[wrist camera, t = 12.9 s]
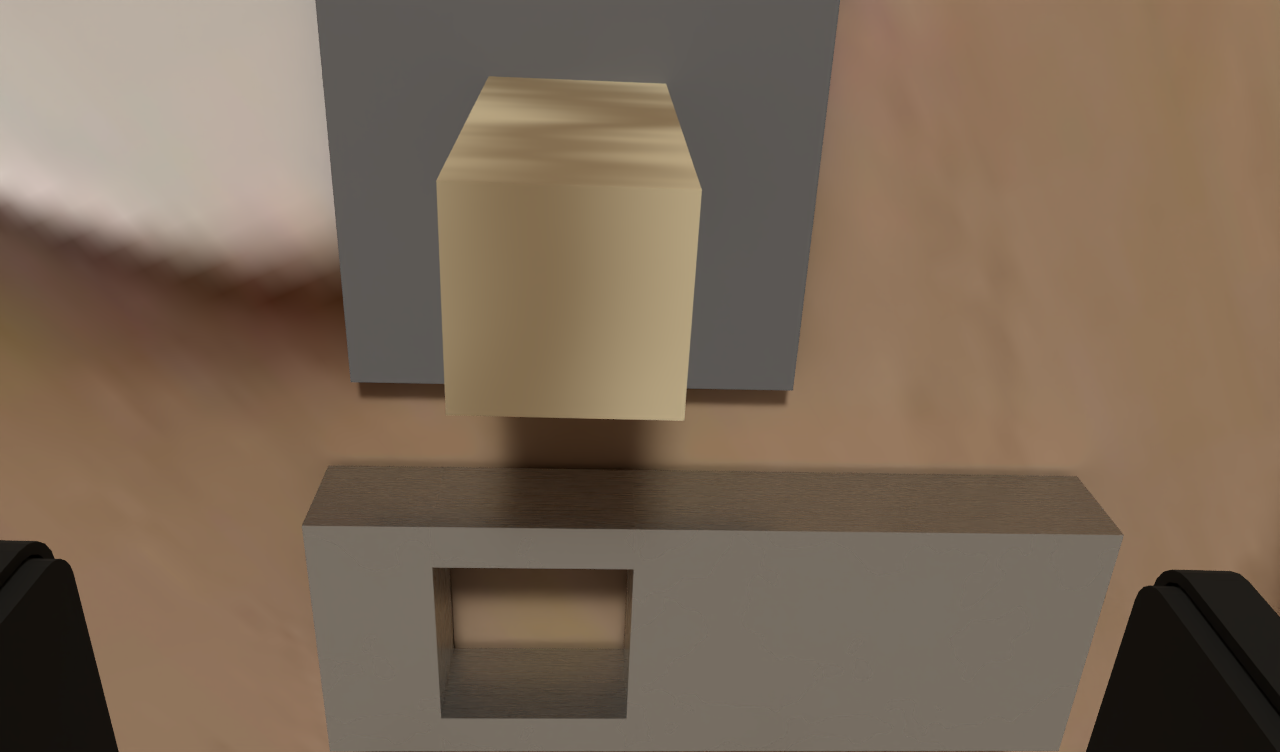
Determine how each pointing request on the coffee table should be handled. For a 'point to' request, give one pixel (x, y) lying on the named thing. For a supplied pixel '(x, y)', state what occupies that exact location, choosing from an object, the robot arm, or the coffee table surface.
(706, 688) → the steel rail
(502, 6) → the charcoal mat
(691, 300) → the birch peg
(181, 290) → the coffee table surface
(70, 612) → the robot arm
